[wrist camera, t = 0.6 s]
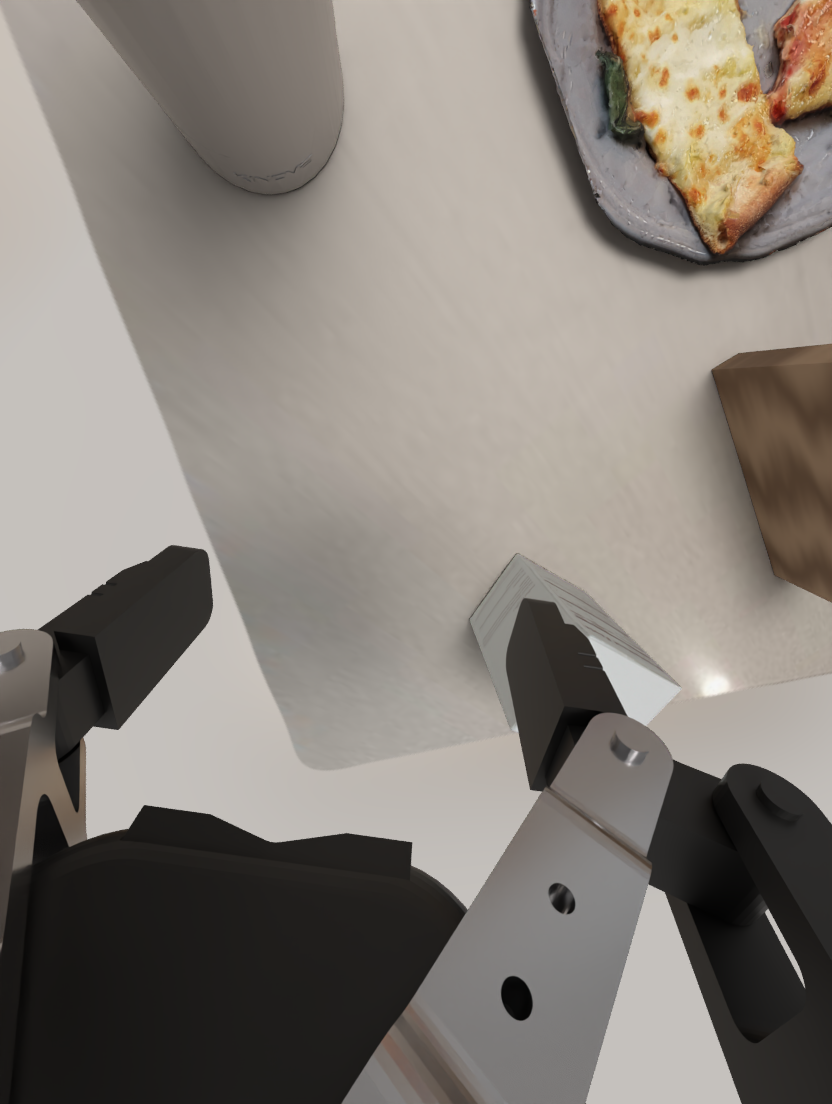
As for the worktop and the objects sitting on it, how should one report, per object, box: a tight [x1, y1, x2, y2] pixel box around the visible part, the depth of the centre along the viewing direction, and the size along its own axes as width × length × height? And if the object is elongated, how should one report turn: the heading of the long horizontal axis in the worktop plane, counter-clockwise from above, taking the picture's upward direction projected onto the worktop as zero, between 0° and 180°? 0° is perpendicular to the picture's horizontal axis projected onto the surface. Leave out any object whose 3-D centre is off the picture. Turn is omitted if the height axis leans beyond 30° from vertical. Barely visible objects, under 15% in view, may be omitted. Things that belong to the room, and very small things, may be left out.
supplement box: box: [470, 553, 682, 733], centre depth 29 cm, size 7×7×13 cm
